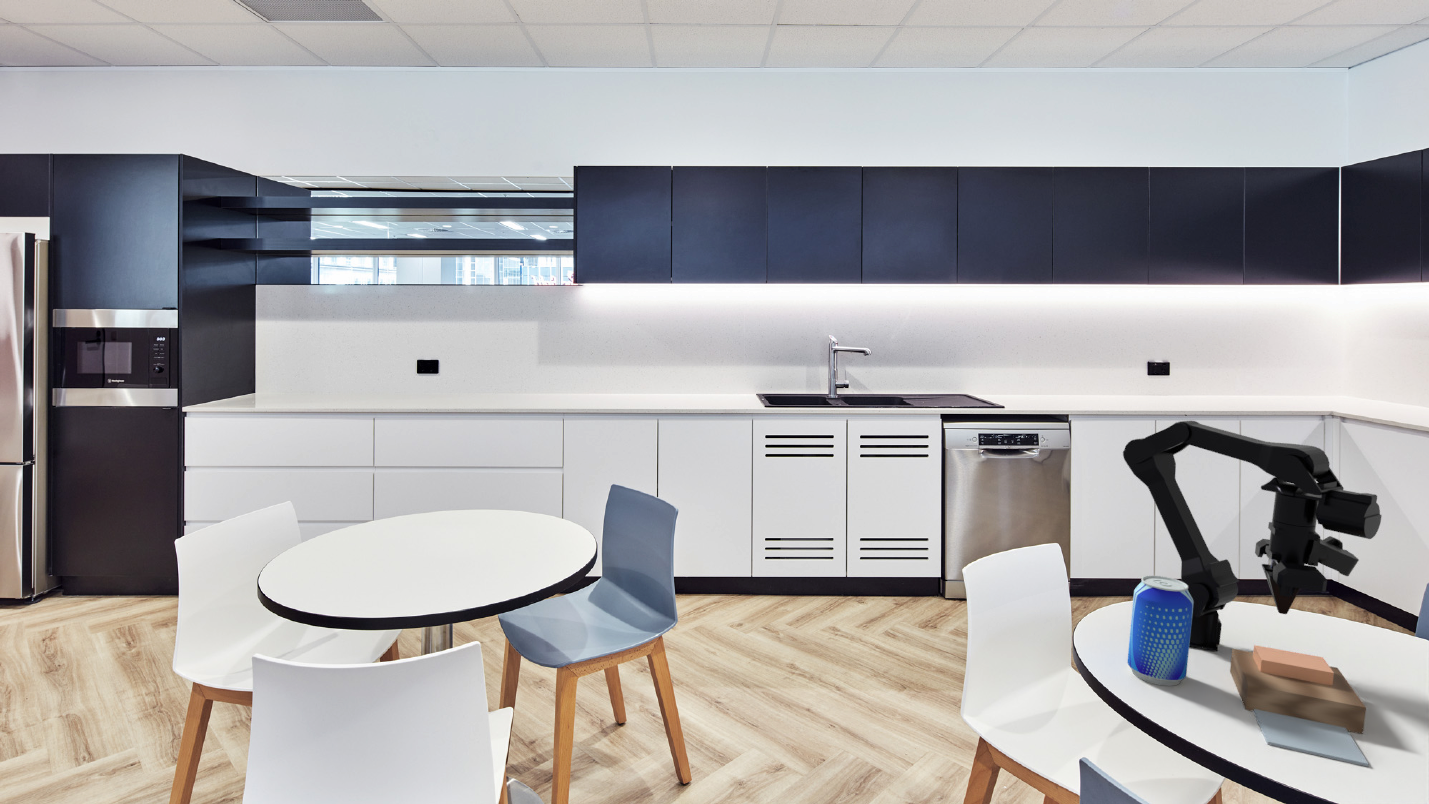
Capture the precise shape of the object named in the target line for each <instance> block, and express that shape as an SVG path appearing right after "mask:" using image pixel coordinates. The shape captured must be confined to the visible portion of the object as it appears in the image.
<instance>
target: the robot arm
mask: <svg viewBox="0 0 1429 804" xmlns="http://www.w3.org/2000/svg"><path fill="white" fill-rule="evenodd" d="M1189 446H1192V447H1196V448H1200V449H1201V450H1206V451H1208V452H1209V451H1210V452H1212V453H1215V454H1219V455H1222V456H1226V457H1229V458H1233V459H1236V460H1239V461H1243V462H1246V463H1250V464H1252V465H1254V466H1256V467H1258V468H1259V469H1261V470H1262V471H1263V472H1265V473H1266V474H1268V475H1270V476H1272V477H1273V478H1272V479H1271V480H1269V481H1268V482H1266V483H1265V484H1262V485H1261V486H1260V490H1262V491H1268V492H1272V493H1275V495H1274V502H1273V503H1274V504H1273V513H1272V519H1271V521H1269V522H1268V527H1267V529H1269V530H1270V535H1269V539H1267V538H1262V539H1260V540H1259V541H1257V542H1255V551H1254V554H1255V556H1257V557H1258V558H1263V556H1264V555H1266V558H1267V559H1268V561H1267V563H1261V568H1262V570H1263V573H1264V575H1265V578H1266V580H1267V584H1268V587H1269V590H1270V593H1271V595H1272V598H1273V600H1274V601H1273V602H1274V604H1275V607H1276V610H1277V612H1278V613H1279V614H1282V615H1287V614H1288V613H1289V611H1290V609H1291V607H1292V605H1293V603H1294V601H1295V599H1296V597H1297V595H1298V594H1299V592H1300V590H1301V589H1303V590H1309V591H1316V592H1327V585H1328V579H1327V578H1326V577H1325V576H1324V575H1323V573H1322V572H1320V570H1319V568H1317V567H1318V566H1319V564H1321V565H1323V566H1325V567H1327V568H1330V569H1332V570H1334V571H1337V572H1338V573H1339V574H1341V575H1343V576H1345V577H1349V576H1350V575H1351V573H1352V572H1353V570H1354V568H1355V567H1356V565H1357V564H1358V562H1359V561H1360V560H1359V558H1358V557H1356V556H1355V555H1354V554H1353V553H1351V552H1350V551H1348V550H1347V549H1344V548H1343V546H1344V545H1343V541H1341V540H1340V539H1338V538H1336V537H1333V536H1332V535H1330V536H1327V537H1326V538H1323V539H1321V535H1320V534H1318V532H1317V531H1316V527H1317V524H1318V525H1321V526H1322V528H1323V529H1324V530H1328V531H1331V532H1334V533H1335V532H1336V533H1340V534H1346V535H1349V536H1353V537H1358V538H1362V539H1367V540H1372V539H1373V538H1374V537H1376V535H1377V533H1378V531H1379V528H1380V525H1381V522H1382V514H1381V511H1380V505H1379V504H1378V503H1377V501H1378V495H1377V494H1373V493H1368V492H1356V491H1351V490H1344V489H1345V488H1344V487H1343V485H1342V483H1341V482H1340V480H1339V479H1338V478H1337V476H1336V475H1335V473H1334V472H1333V470H1332V468H1331V467H1330V461H1329V457H1328V456H1327V454H1326V452H1325V451H1324V450H1323V449H1321V448H1320V447H1317V446H1315V445H1314V446H1313V445H1307V444H1298V443H1297V444H1296V443H1287V442H1286V443H1285V442H1272V441H1265V440H1260V439H1258V438H1254V437H1250V436H1246V435H1242V434H1239V433H1235V432H1231V431H1228V430H1224V429H1220V428H1218V427H1214V426H1210V425H1206V424H1202V423H1199V422H1198V421H1196V420H1182V421H1175V423H1173V424H1172V425H1170V426H1168V427H1167V428H1164V429H1161V430H1160V431H1158V432H1155V433H1152V434H1150V435H1148V436H1146V437H1143V438H1136V439H1131V440H1129V442H1127V444H1126V445H1125V447H1124V450H1123V451H1122V456H1123V459H1124V462H1125V463H1126V464H1127V467H1129V469H1130V470H1131V472H1132V474H1133V475H1134V476H1135V477H1136V478H1137V479H1138V480H1139V481H1140V482H1142V483H1143V484H1144V485H1145V486H1146V487H1147V489H1148V490H1149V492H1150V495H1151V497H1152V499H1153V501H1154V504H1155V506H1156V508H1157V511H1158V513H1159V515H1160V516H1161V518H1162V521H1163V524H1164V525H1165V527H1166V529H1167V531H1168V532H1167V533H1168V535H1169V536H1170V539H1171V540H1172V542H1173V545H1174V547H1175V549H1176V552H1177V554H1178V556H1179V558H1180V562H1181V566H1180V570H1181V572H1180V579H1181V581H1182V582H1184V583H1185V584H1187V585H1188V591H1189V593H1190V595H1191V597H1192V599H1193V601H1194V604H1193V614H1192V624H1191V634H1190V643H1189V647H1192V648H1197V649H1202V650H1209V651H1212V652H1217V651H1218V646H1219V645H1220V641H1221V635H1222V634H1221V633H1222V625H1223V623H1222V621H1221V619H1220V618H1219V617H1220V615H1219V612H1218V611H1220V610H1221V611H1222V610H1223V609H1224V608H1225V607H1226V605H1227V604H1228V603H1231V602H1233V601H1234V600H1235V599H1236V598H1237V595H1238V593H1239V587H1238V584H1237V583H1238V582H1240V580H1239V578H1238V577H1237V576H1236V575H1235V574H1234V572H1233V569H1232V566H1231V563H1230V561H1229V559H1222V560H1219V559H1218V558H1216V557H1215V556H1214V555H1213V554H1212V552H1211V551H1210V549H1209V547H1208V546H1207V545H1208V544H1207V543H1206V541H1205V539H1204V537H1203V535H1202V532H1201V530H1200V529H1199V526H1198V524H1197V522H1196V520H1195V518H1194V515H1193V514H1192V512H1191V509H1190V507H1189V505H1188V503H1187V500H1186V499H1185V496H1184V495H1183V493H1182V490H1181V488H1180V486H1179V485H1178V482H1177V480H1176V470H1177V469H1176V467H1177V464H1176V460H1175V455H1177V454H1178V453H1180V452H1182V451H1184V450H1185V449H1186V448H1187V447H1189Z"/></svg>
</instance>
